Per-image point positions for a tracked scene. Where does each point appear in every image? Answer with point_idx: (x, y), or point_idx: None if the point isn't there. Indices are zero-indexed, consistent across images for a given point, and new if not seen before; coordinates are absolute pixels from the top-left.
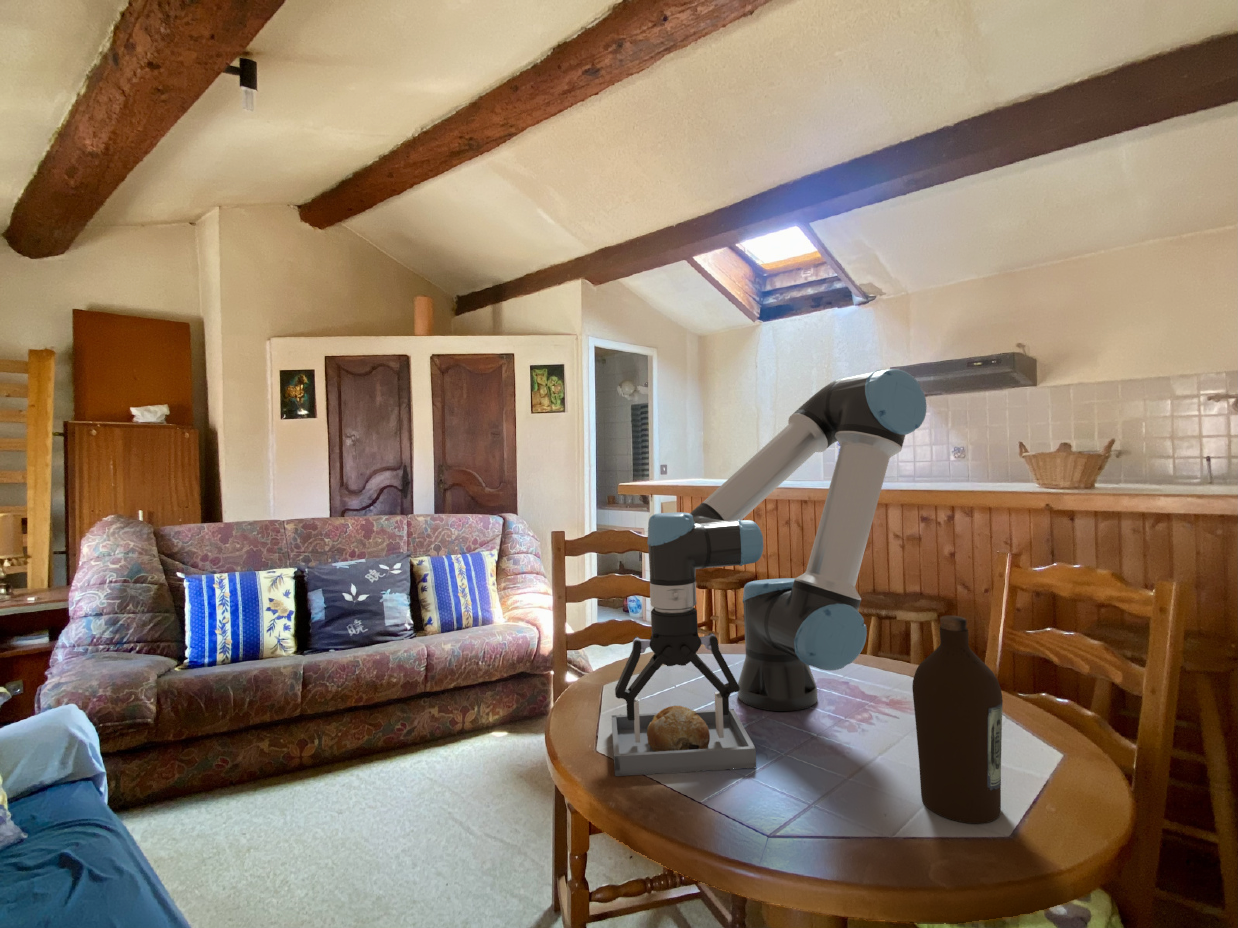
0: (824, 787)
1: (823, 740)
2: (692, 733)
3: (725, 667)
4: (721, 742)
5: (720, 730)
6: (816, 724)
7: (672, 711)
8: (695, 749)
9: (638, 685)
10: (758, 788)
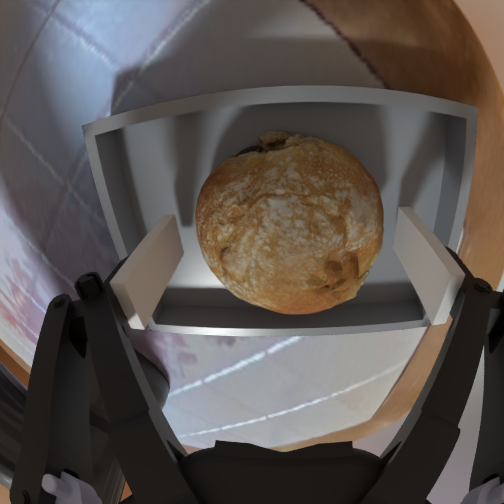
0: (25, 73)
1: (31, 236)
2: (244, 166)
3: (39, 371)
4: (177, 221)
5: (163, 223)
6: (49, 287)
7: (314, 250)
8: (242, 104)
9: (477, 328)
10: (114, 33)
